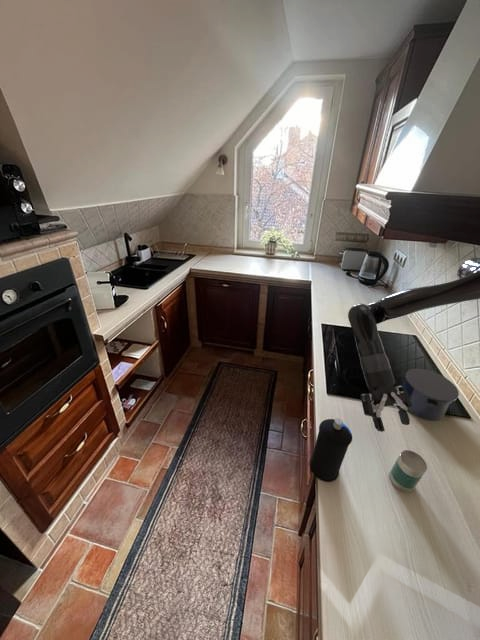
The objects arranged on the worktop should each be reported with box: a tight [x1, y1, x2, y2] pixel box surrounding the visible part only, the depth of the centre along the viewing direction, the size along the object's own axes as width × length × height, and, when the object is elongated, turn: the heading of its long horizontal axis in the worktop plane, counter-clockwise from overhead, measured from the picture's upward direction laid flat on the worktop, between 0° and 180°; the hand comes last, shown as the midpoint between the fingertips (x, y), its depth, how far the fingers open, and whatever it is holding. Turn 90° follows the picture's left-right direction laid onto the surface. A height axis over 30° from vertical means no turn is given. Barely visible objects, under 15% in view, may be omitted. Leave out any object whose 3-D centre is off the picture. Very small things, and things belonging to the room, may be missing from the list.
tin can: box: [388, 449, 428, 493], centre depth 68 cm, size 6×6×10 cm
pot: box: [397, 368, 460, 421], centre depth 92 cm, size 16×18×10 cm
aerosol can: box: [309, 417, 353, 483], centre depth 68 cm, size 8×8×20 cm
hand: (393, 427), depth 71 cm, fingers open, 8 cm apart
